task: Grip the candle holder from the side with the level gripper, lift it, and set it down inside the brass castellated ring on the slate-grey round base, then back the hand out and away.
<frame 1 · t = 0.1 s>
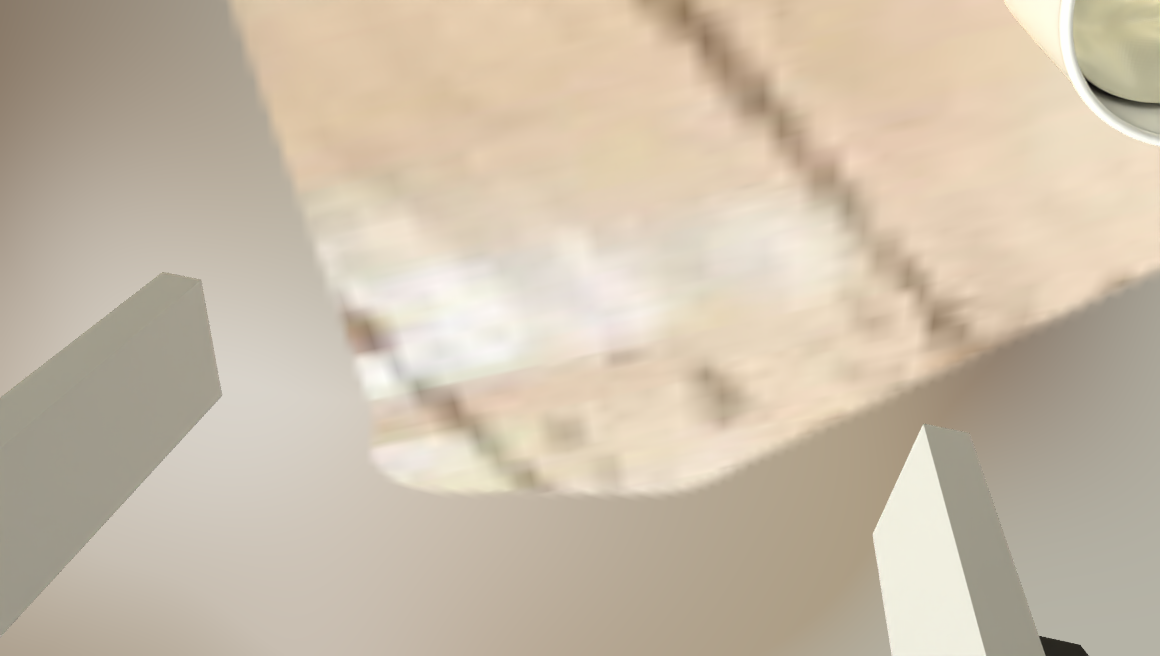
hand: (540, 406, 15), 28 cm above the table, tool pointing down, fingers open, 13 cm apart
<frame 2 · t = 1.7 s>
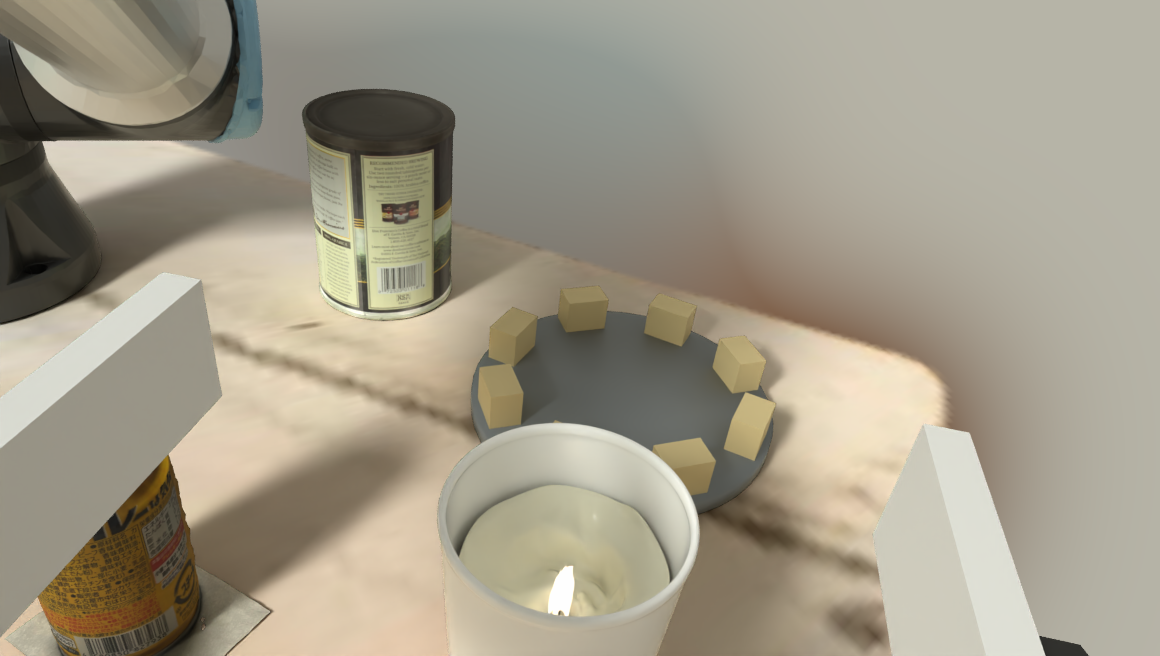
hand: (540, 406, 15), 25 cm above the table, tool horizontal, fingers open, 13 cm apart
ring seat: (620, 407, 54), on the table
coffee can: (385, 287, 63), on the table
condiment: (143, 630, 37), on the table
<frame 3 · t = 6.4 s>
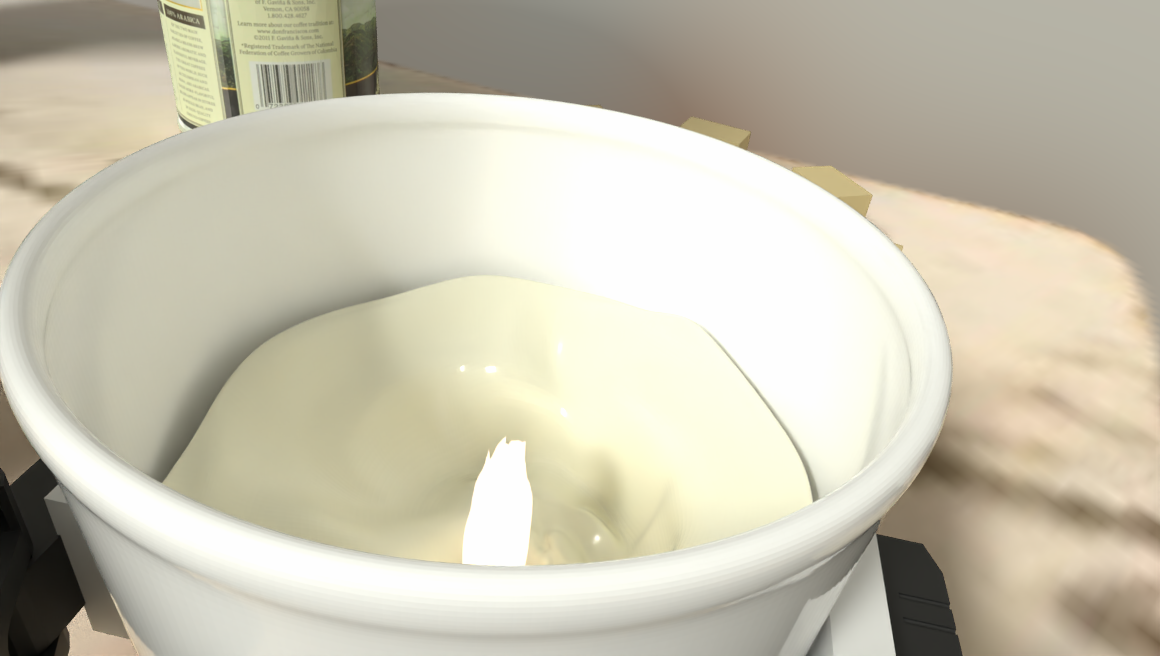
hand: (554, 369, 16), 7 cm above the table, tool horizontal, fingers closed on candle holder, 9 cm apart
ring seat: (635, 271, 33), on the table
coffee can: (282, 124, 43), on the table
when the fingers open (9 cm above the table, at t = 11.9 s): candle holder drops 1 cm, resting on ring seat.
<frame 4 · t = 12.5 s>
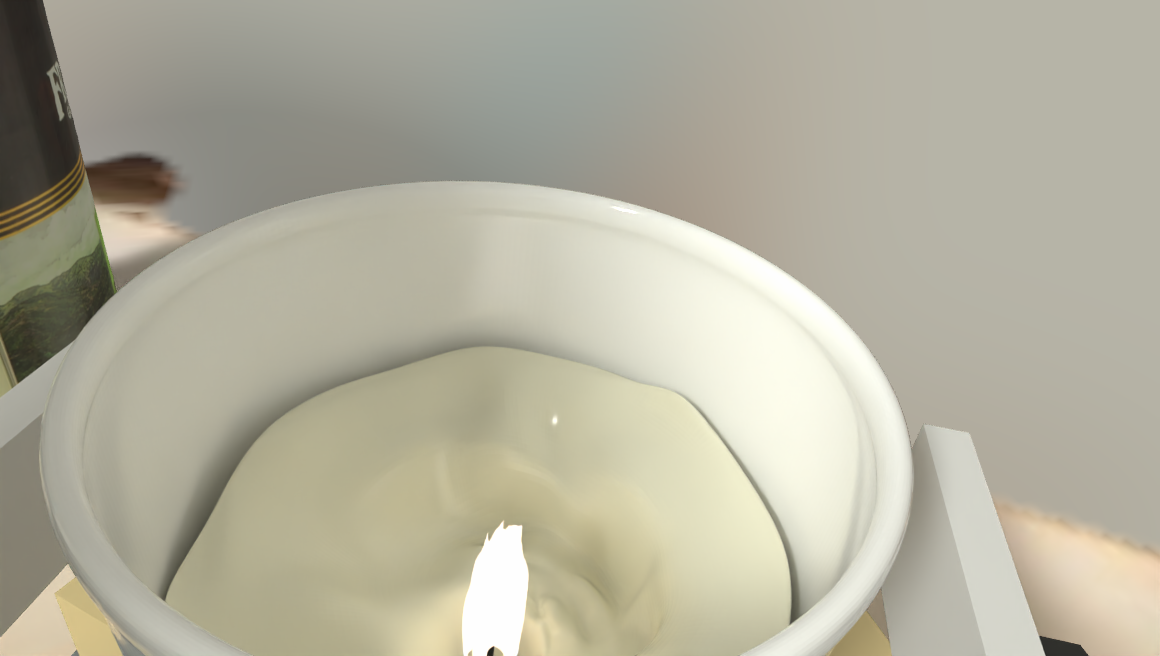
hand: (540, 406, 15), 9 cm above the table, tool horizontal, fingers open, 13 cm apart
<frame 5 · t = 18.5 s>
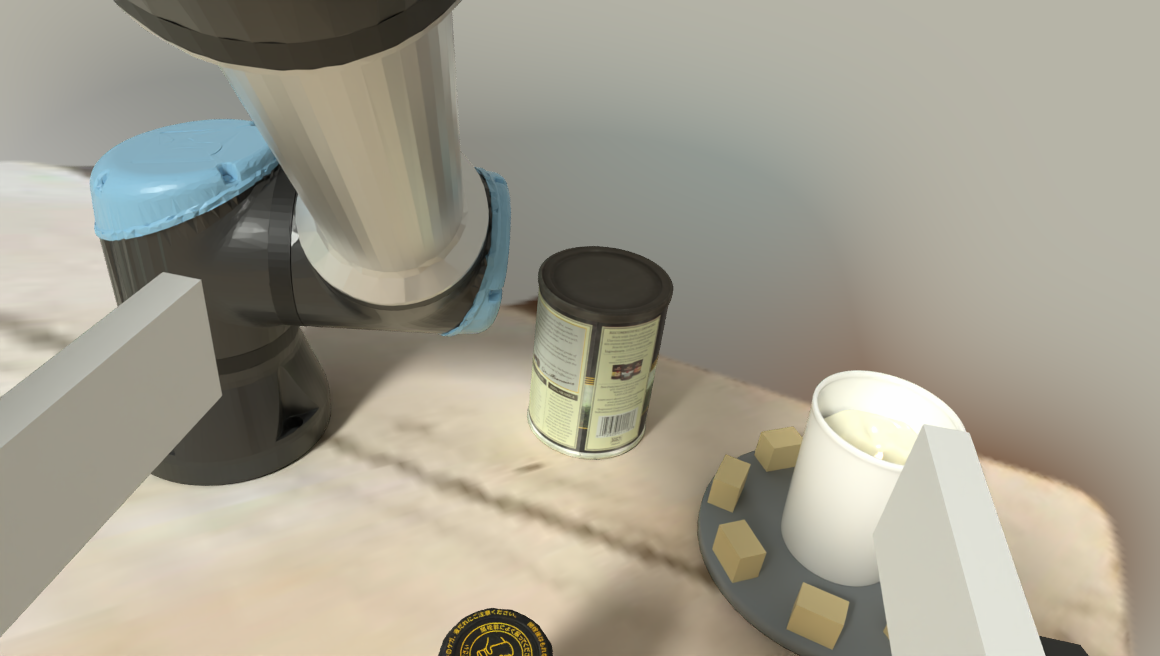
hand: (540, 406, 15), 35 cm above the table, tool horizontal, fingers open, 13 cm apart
candle holder: (835, 543, 58), point 1 cm above the table, touching ring seat
ring seat: (831, 550, 59), on the table
coffee can: (585, 420, 69), on the table
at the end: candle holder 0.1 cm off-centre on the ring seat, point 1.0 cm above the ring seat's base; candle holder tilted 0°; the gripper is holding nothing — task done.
